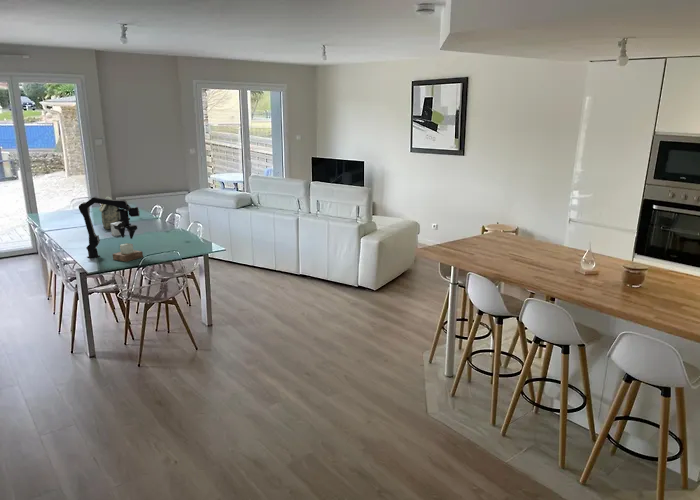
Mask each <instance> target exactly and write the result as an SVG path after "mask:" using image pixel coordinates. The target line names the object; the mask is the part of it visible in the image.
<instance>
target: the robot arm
mask: <svg viewBox="0 0 700 500" xmlns="http://www.w3.org/2000/svg"><path fill="white" fill-rule="evenodd" d="M94 204H100V205H102V204H106V205H112V206H115V207H118V210H117V211H116V212H119V213H120V219H119V222H117V223H115V224H114V225H113V226H114V228H115V229H117V230H118V231H119V232H120V234H121V235H120V236H121V237H122V238H124V237H125V230H126V231H127V232H128V234H129V239H130V240H133V237H134V234H135V232H136V231H137V230H138V225H135V224H132V223H130V221H131V218H130V217H132V218H133V217H140V210H139V207H138V206H135V207H134V206H133V207H131V206H130V204H129V203H128V202H127V200H126V199H112V200H111V199H105V198H103V197H97V196H92V197H91V198H90V199H89V200H87V201H86V202H81V203H80V204H79V205H78V210H79V212H80V214H81V215H82V217H83V220H84V223H85V227H86V230H87V234H88V245H87V246H86V250H87V254H88V255H87V257H88V258H89V259H95V258H98V257H101V255H100V254H99V252H98V248H97V246H99V245H100V242H101V239H100V235H99V234H96V231H95V228H94V225H93V222H92V218H91V209H90V207H91V206H92V205H94Z"/></svg>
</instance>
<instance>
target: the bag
mask: <svg viewBox="0 0 700 500" xmlns="http://www.w3.org/2000/svg"><path fill="white" fill-rule="evenodd" d="M104 199H111V200H113V198H112V197H110V196H109V195H107V196H106V197H105V198H104ZM100 205H101V206H100V207H99V209H98V211H99V212H100V213H101V214H100V215H101V223H102V226H103V227H104V229H105V230H111V225H110V223H115V222H119V219H120V213H119V212H116V211H117V210H118V207H115V206H112V205H106V204H100Z"/></svg>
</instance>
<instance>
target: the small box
mask: <svg viewBox="0 0 700 500" xmlns="http://www.w3.org/2000/svg"><path fill="white" fill-rule="evenodd" d="M115 223H117V222H115ZM115 223H110V225H111V229H110V232H111V236H113V237H116V236H117V237H118V236H121V234H120V232H119V231H118V230H117V229H115V228H114V226H113V225H114V224H115Z"/></svg>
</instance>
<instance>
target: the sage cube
mask: <svg viewBox="0 0 700 500" xmlns="http://www.w3.org/2000/svg"><path fill="white" fill-rule="evenodd" d="M119 247H120V249H119V250H120V252H121V253H122V254H129V253H133V252H134V250H135V249H134V244H133V243H130V242H129V243H122V244H119Z"/></svg>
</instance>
